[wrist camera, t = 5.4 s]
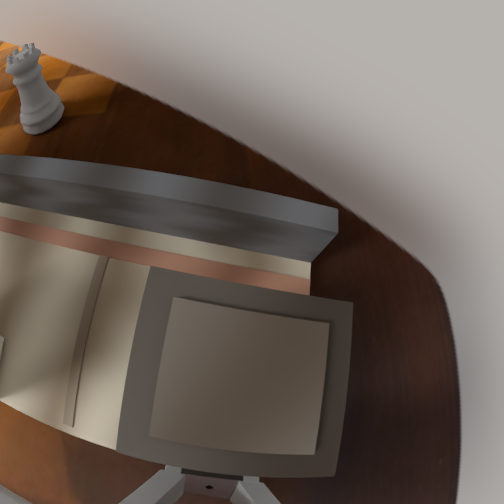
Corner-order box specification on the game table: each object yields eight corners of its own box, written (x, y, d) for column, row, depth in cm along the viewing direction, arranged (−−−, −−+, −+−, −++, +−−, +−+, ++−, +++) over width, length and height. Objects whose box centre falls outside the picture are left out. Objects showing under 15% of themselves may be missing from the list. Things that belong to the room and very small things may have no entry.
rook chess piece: (56, 98, 22) (38, 33, 15) (72, 116, 21) (52, 43, 14) (19, 124, 20) (-8, 60, 13) (31, 145, 19) (0, 74, 12)
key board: (-53, 361, 11) (-97, 349, 7) (0, 191, 17) (-28, 152, 13) (281, 470, 14) (311, 500, 9) (306, 248, 20) (338, 209, 15)
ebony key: (165, 407, 13) (113, 454, 4) (178, 332, 15) (149, 261, 6) (254, 421, 14) (339, 478, 5) (264, 347, 15) (357, 300, 6)
